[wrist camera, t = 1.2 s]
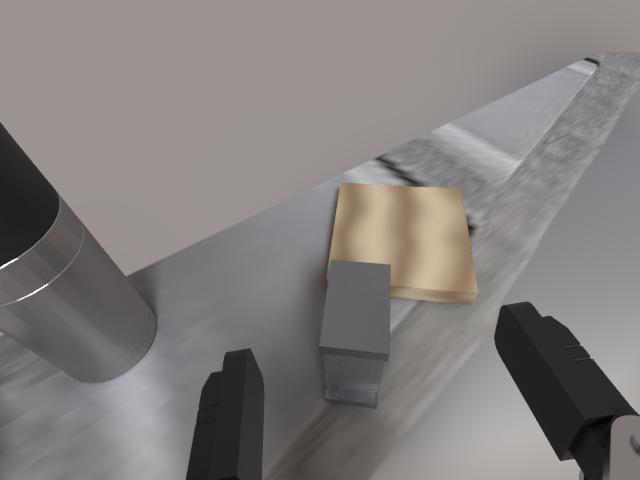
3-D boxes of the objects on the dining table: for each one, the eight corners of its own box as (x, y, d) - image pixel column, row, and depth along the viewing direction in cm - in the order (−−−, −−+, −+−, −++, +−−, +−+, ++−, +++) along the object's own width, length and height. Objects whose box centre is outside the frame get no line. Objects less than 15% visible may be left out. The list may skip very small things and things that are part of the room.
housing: (325, 402, 33) (318, 345, 24) (334, 330, 37) (331, 259, 28) (375, 408, 32) (389, 353, 23) (378, 334, 37) (390, 264, 28)
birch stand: (326, 295, 40) (325, 279, 38) (340, 199, 49) (340, 182, 47) (470, 308, 38) (478, 293, 36) (455, 206, 48) (461, 189, 45)
